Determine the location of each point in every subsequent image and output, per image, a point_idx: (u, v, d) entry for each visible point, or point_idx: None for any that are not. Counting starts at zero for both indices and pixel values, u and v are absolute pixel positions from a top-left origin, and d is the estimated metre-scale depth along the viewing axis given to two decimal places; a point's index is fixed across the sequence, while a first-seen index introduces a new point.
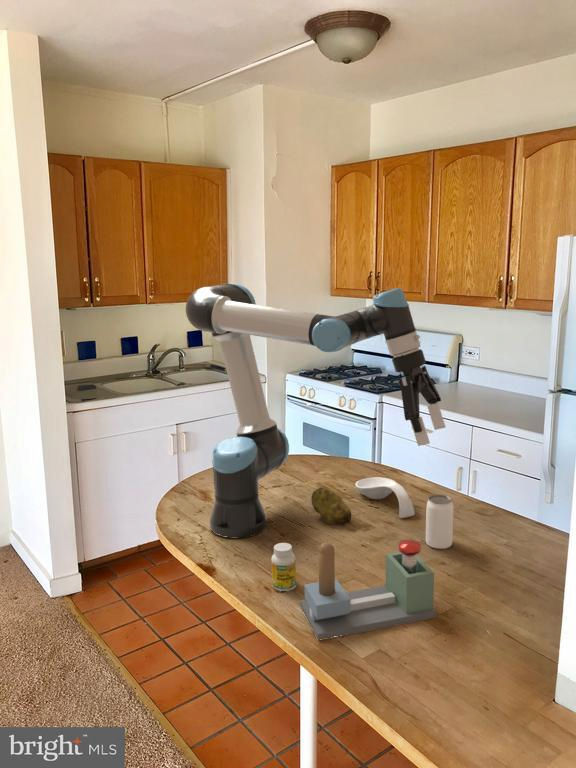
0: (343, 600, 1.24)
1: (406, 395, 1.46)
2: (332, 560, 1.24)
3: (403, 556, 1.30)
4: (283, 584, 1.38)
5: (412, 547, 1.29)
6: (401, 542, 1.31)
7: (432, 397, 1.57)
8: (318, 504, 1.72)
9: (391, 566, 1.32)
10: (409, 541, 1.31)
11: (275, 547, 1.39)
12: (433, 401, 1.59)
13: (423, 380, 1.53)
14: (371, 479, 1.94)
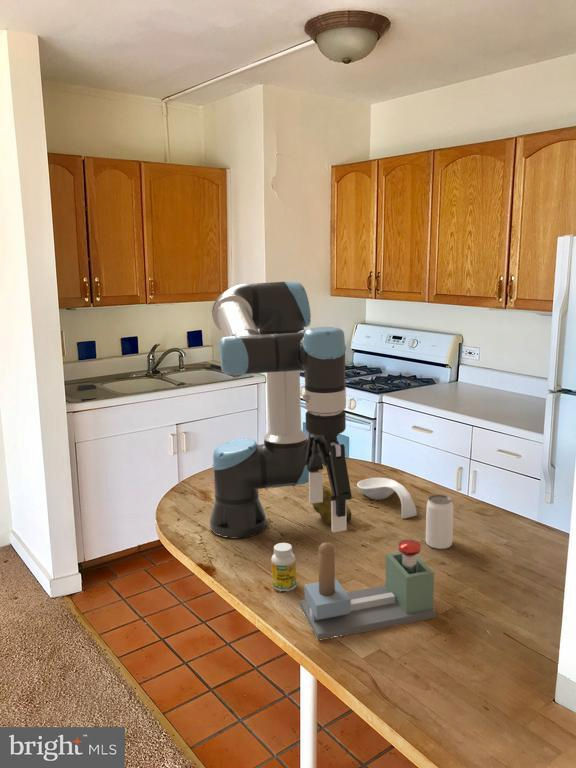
0: (343, 600, 1.24)
1: None
2: (332, 560, 1.24)
3: (403, 556, 1.30)
4: (283, 584, 1.38)
5: (412, 547, 1.29)
6: (401, 542, 1.31)
7: None
8: (318, 504, 1.72)
9: (391, 566, 1.32)
10: (409, 541, 1.31)
11: (275, 547, 1.39)
12: None
13: None
14: (373, 479, 1.94)
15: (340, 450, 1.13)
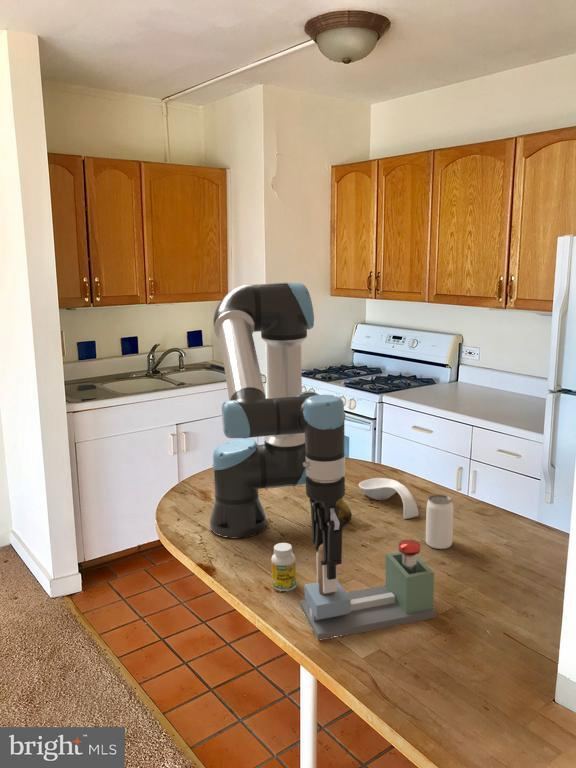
0: (343, 600, 1.24)
1: None
2: None
3: (403, 556, 1.30)
4: (283, 584, 1.38)
5: (412, 547, 1.29)
6: (401, 542, 1.31)
7: None
8: None
9: (391, 566, 1.32)
10: (409, 541, 1.31)
11: (275, 547, 1.39)
12: None
13: None
14: (374, 480, 1.93)
15: (338, 526, 1.17)
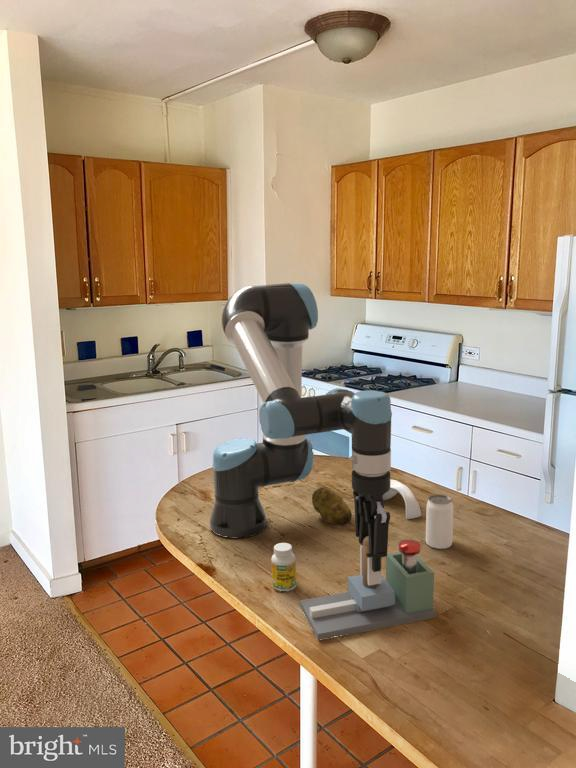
0: (387, 592, 1.26)
1: None
2: None
3: (403, 556, 1.30)
4: (283, 584, 1.38)
5: (412, 547, 1.29)
6: (401, 542, 1.31)
7: None
8: (318, 504, 1.72)
9: (391, 566, 1.32)
10: (409, 541, 1.31)
11: (275, 547, 1.39)
12: None
13: None
14: None
15: (385, 519, 1.20)
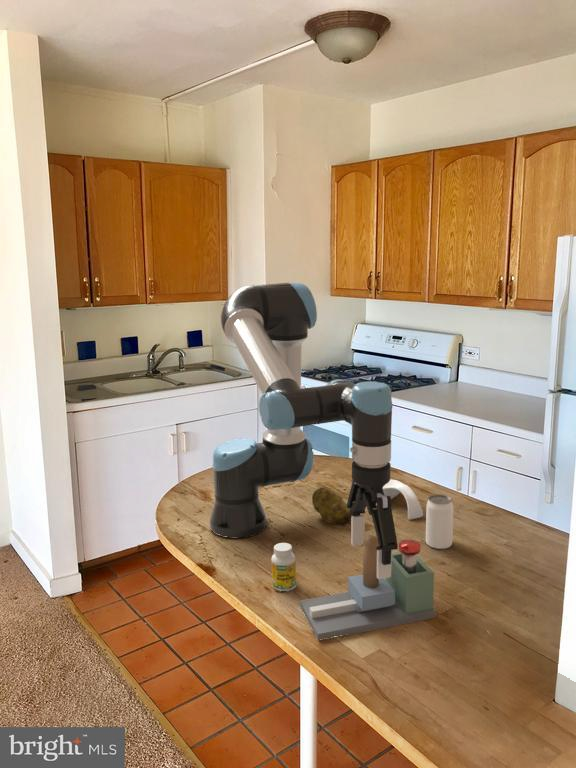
0: (388, 592, 1.26)
1: None
2: None
3: (403, 556, 1.30)
4: (283, 584, 1.38)
5: (412, 547, 1.29)
6: (401, 542, 1.31)
7: None
8: (319, 504, 1.72)
9: (391, 566, 1.32)
10: (409, 541, 1.31)
11: (275, 547, 1.39)
12: None
13: None
14: None
15: (387, 502, 1.18)
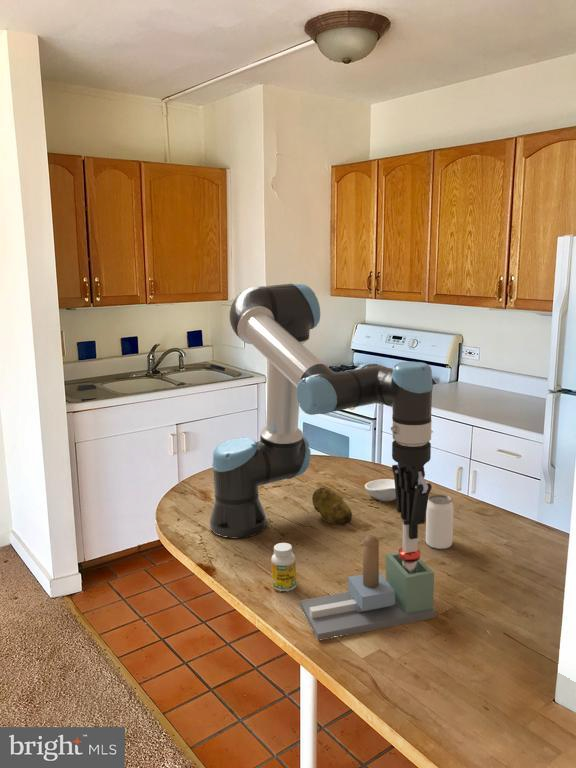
0: (388, 592, 1.26)
1: None
2: (377, 553, 1.27)
3: (403, 563, 1.30)
4: (283, 584, 1.38)
5: (412, 554, 1.29)
6: (401, 549, 1.31)
7: None
8: (319, 504, 1.72)
9: (391, 566, 1.32)
10: None
11: (275, 547, 1.39)
12: None
13: None
14: (380, 481, 1.92)
15: (426, 490, 1.21)
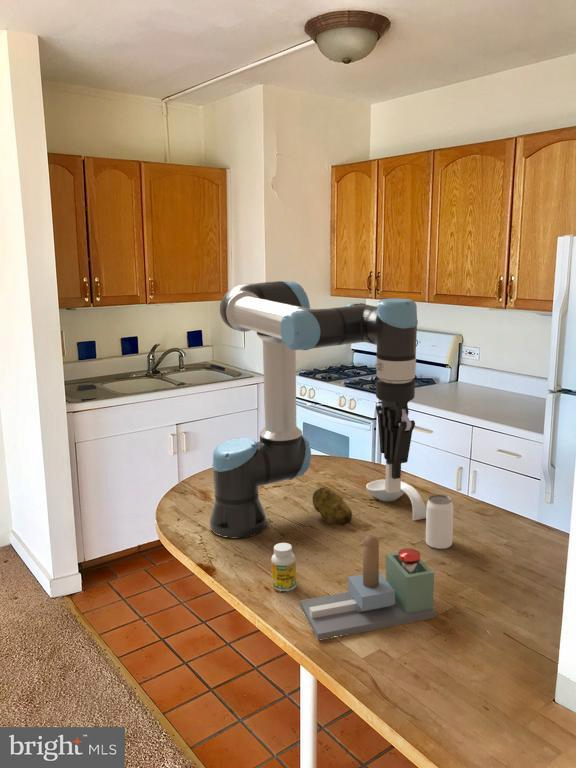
0: (388, 592, 1.26)
1: None
2: (377, 553, 1.27)
3: (403, 565, 1.30)
4: (283, 584, 1.38)
5: (412, 556, 1.29)
6: (401, 551, 1.31)
7: None
8: (319, 504, 1.72)
9: (391, 566, 1.32)
10: (409, 550, 1.32)
11: (275, 547, 1.39)
12: None
13: None
14: (381, 481, 1.92)
15: (410, 427, 1.20)
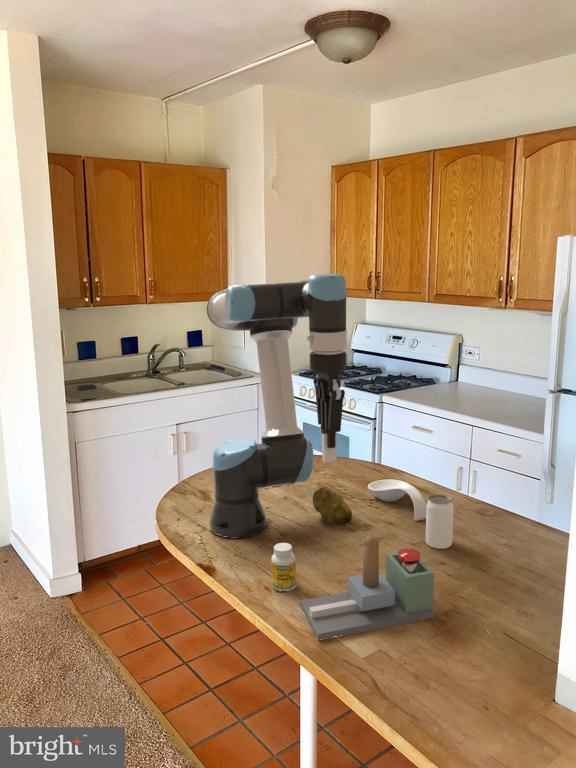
0: (388, 592, 1.26)
1: None
2: (377, 553, 1.27)
3: (403, 565, 1.30)
4: (283, 584, 1.38)
5: (412, 556, 1.29)
6: (401, 551, 1.31)
7: None
8: (319, 504, 1.72)
9: (391, 566, 1.32)
10: (409, 550, 1.32)
11: (275, 547, 1.39)
12: None
13: None
14: (383, 481, 1.92)
15: (340, 396, 1.25)
